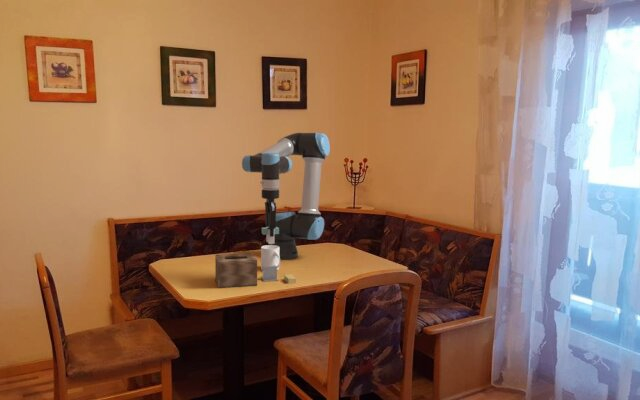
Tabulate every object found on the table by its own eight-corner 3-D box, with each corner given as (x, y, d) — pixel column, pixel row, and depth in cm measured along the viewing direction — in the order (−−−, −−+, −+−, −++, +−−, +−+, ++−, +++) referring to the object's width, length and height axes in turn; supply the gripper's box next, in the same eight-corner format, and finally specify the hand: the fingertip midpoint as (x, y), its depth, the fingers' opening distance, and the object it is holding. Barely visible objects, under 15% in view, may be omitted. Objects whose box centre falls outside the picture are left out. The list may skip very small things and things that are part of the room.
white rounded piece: (271, 274, 234) (271, 251, 233) (257, 268, 243) (257, 246, 242) (287, 271, 239) (287, 248, 238) (272, 266, 249) (272, 244, 247)
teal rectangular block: (277, 232, 226) (277, 227, 226) (279, 233, 223) (279, 228, 223) (261, 233, 224) (261, 227, 224) (263, 234, 221) (263, 229, 221)
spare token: (284, 280, 226) (284, 274, 226) (291, 279, 227) (291, 274, 227) (288, 284, 220) (288, 278, 219) (296, 283, 221) (296, 278, 220)
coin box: (252, 277, 228) (252, 253, 226) (257, 285, 215) (257, 260, 214) (215, 279, 223) (215, 254, 222) (218, 288, 211) (218, 261, 210)
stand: (275, 276, 230) (275, 264, 229) (278, 280, 224) (278, 267, 223) (261, 277, 228) (261, 265, 227) (263, 281, 222) (263, 268, 221)
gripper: (258, 187, 228) (258, 239, 231) (265, 191, 212) (265, 247, 215) (275, 186, 230) (275, 238, 233) (283, 191, 214) (282, 246, 217)
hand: (270, 242), depth 224 cm, fingers closed on teal rectangular block, 3 cm apart
